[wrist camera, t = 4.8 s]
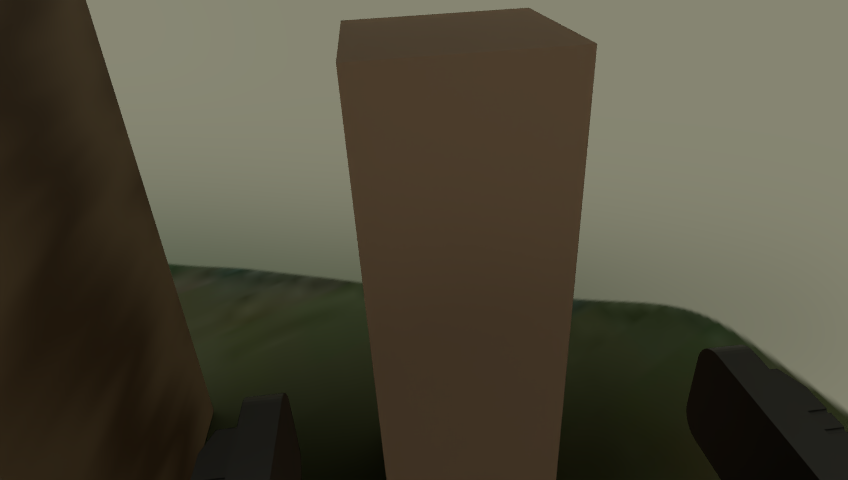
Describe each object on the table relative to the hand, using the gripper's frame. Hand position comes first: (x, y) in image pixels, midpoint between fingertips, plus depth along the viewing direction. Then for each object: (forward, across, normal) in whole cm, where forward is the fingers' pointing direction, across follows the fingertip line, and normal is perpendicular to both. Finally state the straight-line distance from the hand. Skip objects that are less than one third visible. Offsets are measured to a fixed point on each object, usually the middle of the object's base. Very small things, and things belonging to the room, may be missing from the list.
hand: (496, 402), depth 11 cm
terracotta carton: (+6, 0, +9) cm, 11 cm away
